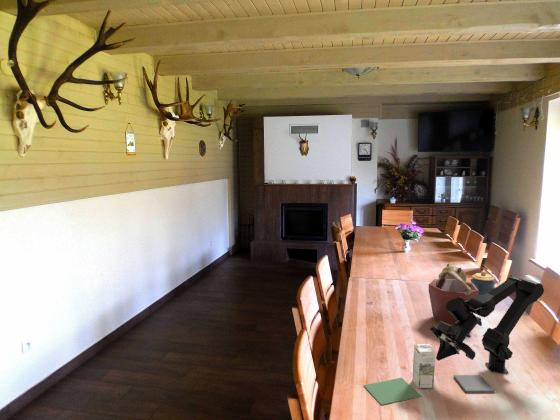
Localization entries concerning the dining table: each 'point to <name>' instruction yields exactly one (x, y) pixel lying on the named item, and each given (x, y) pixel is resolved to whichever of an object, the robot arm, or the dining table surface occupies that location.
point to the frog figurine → (454, 269)
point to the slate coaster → (473, 384)
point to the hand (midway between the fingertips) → (437, 359)
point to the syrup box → (423, 366)
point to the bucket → (449, 295)
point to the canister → (483, 282)
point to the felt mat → (392, 391)
